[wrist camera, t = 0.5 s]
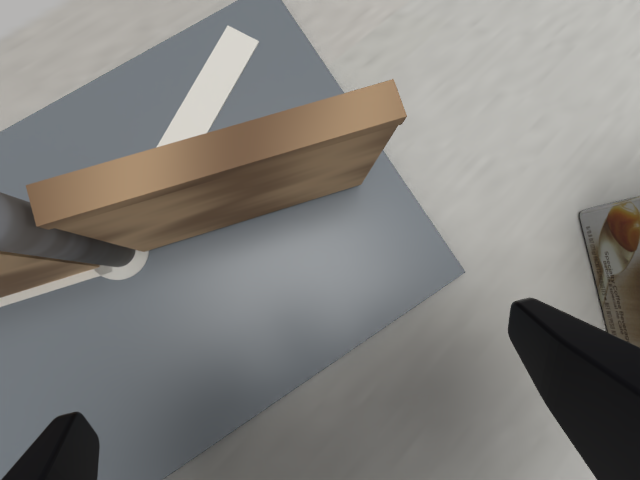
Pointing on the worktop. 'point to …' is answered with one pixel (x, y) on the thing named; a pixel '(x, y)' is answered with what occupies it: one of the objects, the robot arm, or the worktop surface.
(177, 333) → the mat
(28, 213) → the fence fixed
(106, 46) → the worktop surface
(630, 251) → the coffee box
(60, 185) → the fence panel
